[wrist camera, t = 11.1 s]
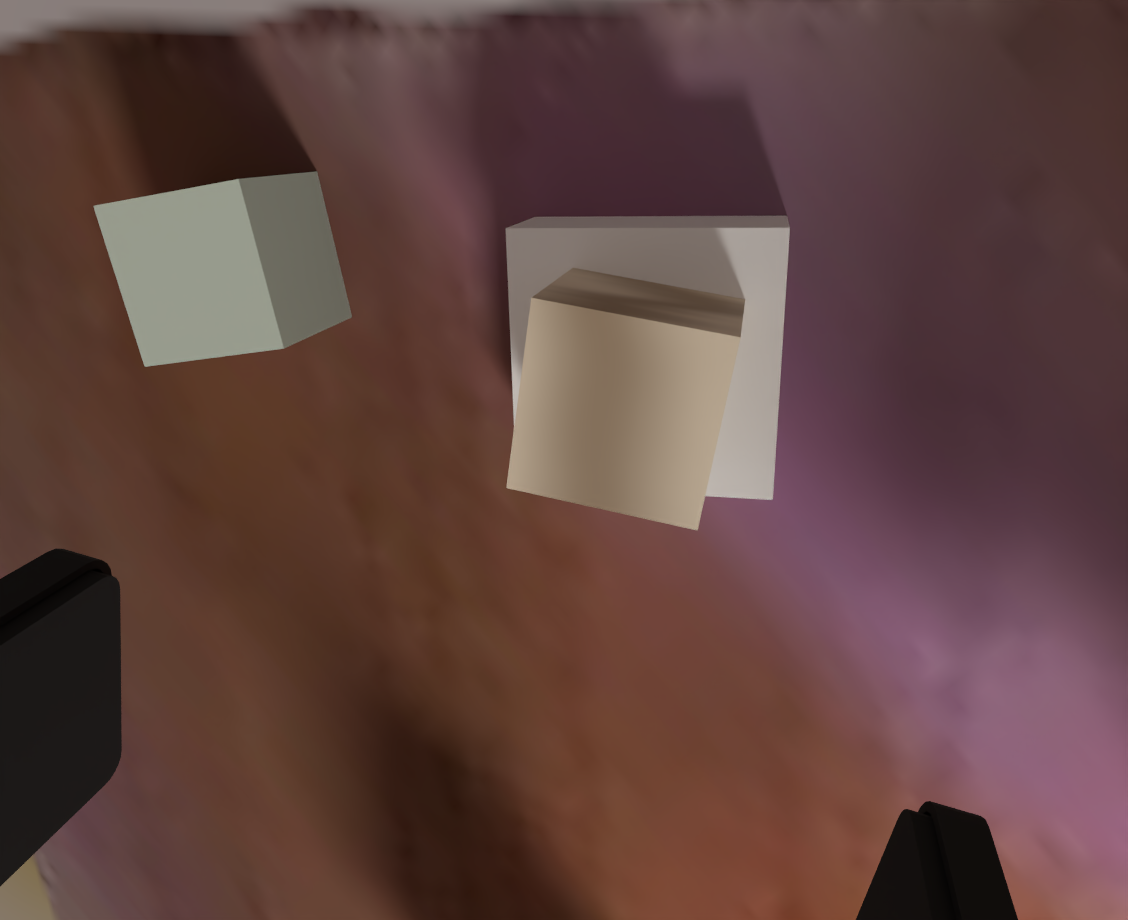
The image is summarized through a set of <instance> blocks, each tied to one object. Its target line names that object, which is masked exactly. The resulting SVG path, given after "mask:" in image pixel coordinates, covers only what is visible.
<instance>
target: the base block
mask: <svg viewBox="0 0 1128 920" xmlns="http://www.w3.org/2000/svg"><path fill="white" fill-rule="evenodd" d="M789 234H790V226H789V222H788V218H787V216H591V217H533V218H531V219H528V220H526V221H523V222H520V223H518V224H515V225H513V226H510V227H507V228H506V250H507V273H508V296H509V319H510V342H511V365H512V388H513V411H514V426H515V419H516V411H517V403H518V396H519V388H520V380H521V373H522V365H523V358H524V350H525V342H526V335H527V327H528V320H529V312H530V304H531V298H532V297H533V296H534V295H536V294H537V293H539V292H540V291H541V290H543V289H544V288H546V287H547V286H548V285H550V284H551V283H552V282H554V281H555V280H557V279H558V278H559V277H561V276H562V275H564V274H565V273H566V272H568V271H569V270H571V269H572V268H578V269H583V270H589V271H594V272H599V273H605V274H610V275H616V276H621V277H627V278H632V279H637V280H643V281H648V282H654V283H659V284H665V285H670V286H676V287H681V288H686V289H692V290H697V291H703V292H708V293H714V294H719V295H725V296H730V297H735V298H741V299H745V306H744V314H743V322H742V330H741V338H740V342H739V347H738V351H737V356H736V360H735V365H734V369H733V374H732V378H731V383H730V387H729V391H728V396H727V400H726V405H725V409H724V414H723V418H722V423H721V427H720V432H719V436H718V441H717V445H716V449H715V454H714V458H713V463H712V467H711V472H710V476H709V481H708V485H707V490H706V494H705V496H715V497H732V498H749V499H766V500H773V487H774V471H775V455H776V439H777V424H778V408H779V392H780V376H781V360H782V345H783V329H784V313H785V297H786V281H787V266H788V250H789Z"/></svg>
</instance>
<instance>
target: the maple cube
mask: <svg viewBox="0 0 1128 920" xmlns="http://www.w3.org/2000/svg"><path fill="white" fill-rule="evenodd" d="M744 306H745V299H741V298H735V297H730V296H725V295H719V294H714V293H708V292H703V291H697V290H692V289H686V288H681V287H676V286H670V285H665V284H659V283H654V282H648V281H643V280H637V279H632V278H627V277H621V276H616V275H610V274H605V273H599V272H594V271H589V270H583V269H578V268H572V269H571V270H569V271H568V272H566V273H565V274H564V275H562V276H561V277H559V278H558V279H557V280H555V281H554V282H552V283H551V284H550V285H548V286H547V287H546V288H544V289H543V290H541V291H540V292H539V293H537V294H536V295H534V296H533V297H532V298H531V304H530V312H529V320H528V327H527V335H526V342H525V350H524V358H523V365H522V373H521V380H520V388H519V396H518V403H517V411H516V419H515V426H514V434H513V441H512V449H511V457H510V464H509V472H508V479H507V487H506V488H509V489H514V490H518V491H523V492H527V493H532V494H536V495H541V496H545V497H550V498H554V499H559V500H563V501H568V502H572V503H577V504H581V505H586V506H590V507H595V508H599V509H604V510H608V511H613V512H617V513H622V514H626V515H631V516H635V517H640V518H644V519H649V520H653V521H658V522H662V523H667V524H671V525H676V526H680V527H685V528H689V529H694V530H698V525H699V521H700V516H701V512H702V507H703V503H704V499H705V494H706V490H707V485H708V481H709V476H710V472H711V467H712V463H713V458H714V454H715V449H716V445H717V441H718V436H719V432H720V427H721V423H722V418H723V414H724V409H725V405H726V400H727V396H728V391H729V387H730V383H731V378H732V374H733V369H734V365H735V360H736V356H737V351H738V347H739V342H740V338H741V330H742V322H743V314H744Z"/></svg>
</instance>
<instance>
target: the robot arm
mask: <svg viewBox="0 0 1128 920" xmlns="http://www.w3.org/2000/svg"><path fill="white" fill-rule="evenodd" d="M120 757H121V636H120V585H119V582H118V580H117V578H115V577H113V576H112V575H111V569H110V567H109V566H108V564H107V563H106V562H104V561H102V560H99V559H96V558H93V557H89V556H86V555H82V554H79V553H75V552H72V551H68V550H65V549H54V550H51V551H49V552H47V553H45V554H43V555H41V556H40V557H38V558H36V559H34V560H33V561H31V562H29V563H27V564H26V565H24V566H22V567H20V568H19V569H17V570H15V571H13V572H12V573H10V574H8V575H6V576H5V577H3V578H1V579H0V886H1V885H2V884H3V883H4V882H5V881H6V880H7V879H8V878H9V877H10V876H11V875H13V874H14V873H15V871H17V870H18V869H19V868H20V867H21V866H22V865H23V864H24V863H25V862H26V861H27V860H28V859H29V858H30V857H31V856H32V855H33V854H34V853H35V852H36V851H37V850H38V849H39V848H40V847H41V846H42V845H43V844H44V843H45V842H47V841H48V840H49V839H50V838H51V837H52V836H53V835H54V834H55V833H56V832H57V831H58V830H59V829H60V828H61V827H62V826H63V825H64V824H65V823H66V822H67V821H68V820H69V819H70V818H71V817H72V816H73V815H74V814H75V813H76V812H77V811H78V810H79V809H81V808H82V807H83V806H84V805H85V804H86V803H87V802H88V801H89V800H90V799H91V798H92V797H93V796H94V795H95V794H96V793H97V792H98V791H99V790H100V789H101V788H102V787H103V786H104V785H105V784H106V783H107V782H108V781H109V780H110V778H111V777H112V775H113V774H114V772H115V770H116V768H117V766H118V764H119V761H120ZM856 920H1018V918H1017V915H1016V912H1015V909H1014V905H1013V902H1012V899H1011V896H1010V893H1009V889H1008V886H1007V883H1006V880H1005V877H1004V873H1003V870H1002V867H1001V864H1000V861H999V857H998V854H997V851H996V848H995V845H994V841H993V838H992V835H991V832H990V829H989V826H988V824H987V822H986V820H985V819H984V818H983V817H981V816H979V815H975V814H972V813H968V812H965V811H962V810H958V809H955V808H951V807H948V806H944V805H941V804H938V803H934V802H931V801H928V802H925V803H924V804H923V805H922V806H921V807H920V809H919V811H918V812H915V811H912V810H908V809H905V810H903V811H902V812H901V814H900V816H899V818H898V820H897V822H896V825H895V827H894V829H893V832H892V834H891V837H890V839H889V841H888V844H887V846H886V849H885V851H884V853H883V856H882V858H881V861H880V863H879V865H878V868H877V870H876V873H875V875H874V877H873V880H872V882H871V885H870V887H869V889H868V892H867V894H866V897H865V899H864V901H863V904H862V906H861V909H860V911H859V913H858V916H857V918H856Z"/></svg>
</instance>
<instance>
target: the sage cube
mask: <svg viewBox="0 0 1128 920" xmlns="http://www.w3.org/2000/svg"><path fill="white" fill-rule="evenodd" d="M94 209H95V213H96V216H97V219H98V222H99V225H100V228H101V231H102V235H103V238H104V241H105V244H106V247H107V250H108V253H109V256H110V260H111V263H112V266H113V269H114V272H115V275H116V278H117V281H118V285H119V288H120V291H121V294H122V297H123V300H124V303H125V307H126V310H127V313H128V316H129V319H130V322H131V325H132V328H133V332H134V335H135V338H136V341H137V344H138V347H139V350H140V353H141V357H142V360H143V363H144V366H145V367H146V366H154V365H161V364H169V363H177V362H184V361H192V360H200V359H207V358H215V357H222V356H230V355H238V354H245V353H253V352H261V351H268V350H276V349H283V348H286V347H288V346H290V345H292V344H295V343H297V342H299V341H301V340H303V339H305V338H308V337H310V336H312V335H314V334H316V333H319V332H321V331H323V330H325V329H327V328H329V327H332V326H334V325H336V324H338V323H340V322H343V321H345V320H347V319H349V318H351V317H352V315H351V311H350V307H349V302H348V298H347V294H346V290H345V286H344V282H343V278H342V273H341V269H340V265H339V261H338V257H337V253H336V248H335V244H334V240H333V236H332V232H331V228H330V223H329V219H328V215H327V211H326V207H325V203H324V199H323V194H322V190H321V186H320V182H319V178H318V174H317V171H316V172H305V173H295V174H285V175H274V176H264V177H254V178H243V179H236V180H230V181H225V182H219V183H214V184H209V185H203V186H198V187H193V188H187V189H182V190H177V191H171V192H166V193H161V194H155V195H150V196H145V197H139V198H134V199H128V200H123V201H118V202H112V203H107V204H102V205H96V206H94Z"/></svg>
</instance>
